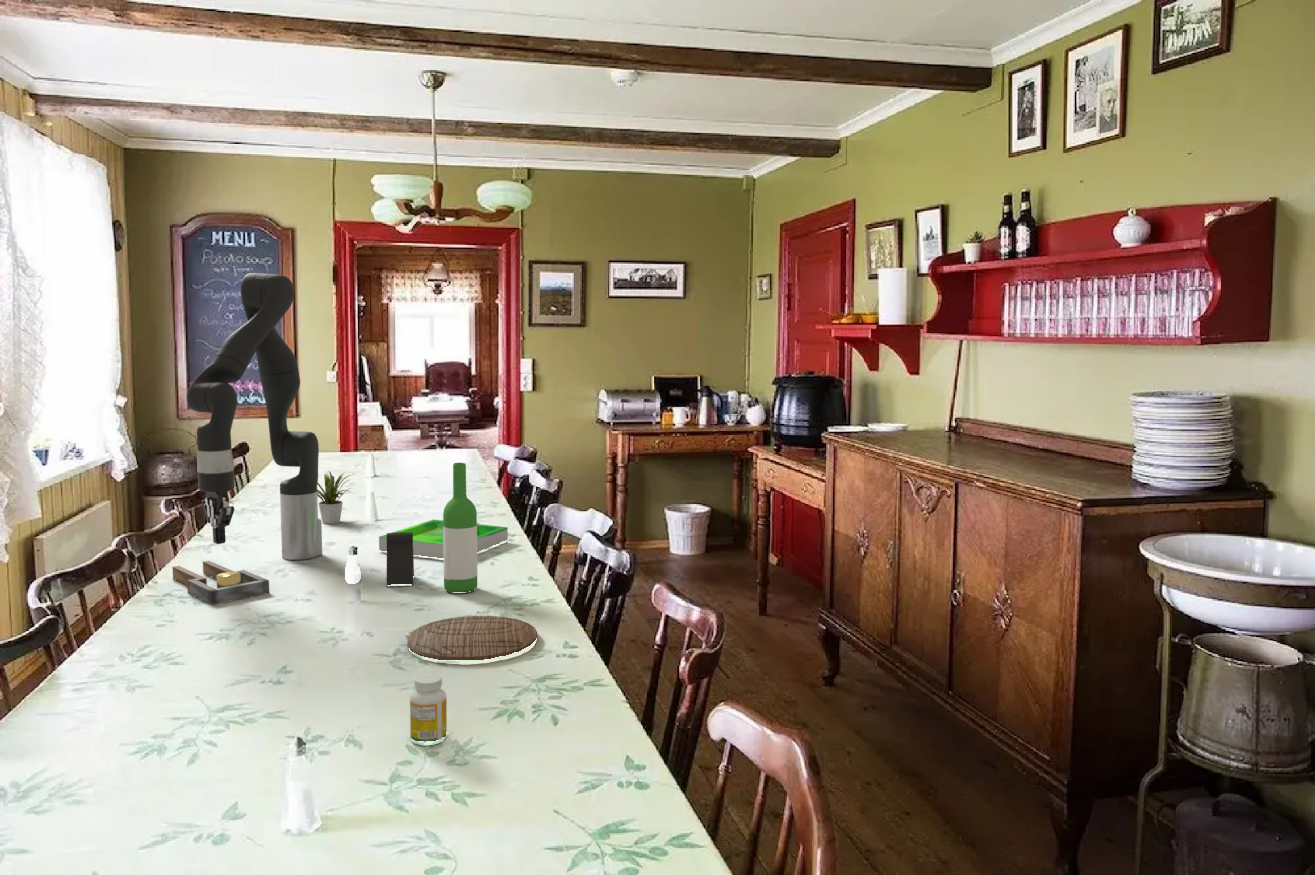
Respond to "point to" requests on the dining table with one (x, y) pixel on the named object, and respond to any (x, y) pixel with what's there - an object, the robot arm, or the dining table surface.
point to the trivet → (471, 638)
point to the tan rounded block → (228, 579)
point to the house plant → (331, 499)
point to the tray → (431, 538)
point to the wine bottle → (460, 537)
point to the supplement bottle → (428, 709)
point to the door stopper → (400, 558)
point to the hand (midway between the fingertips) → (219, 543)
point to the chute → (200, 589)
